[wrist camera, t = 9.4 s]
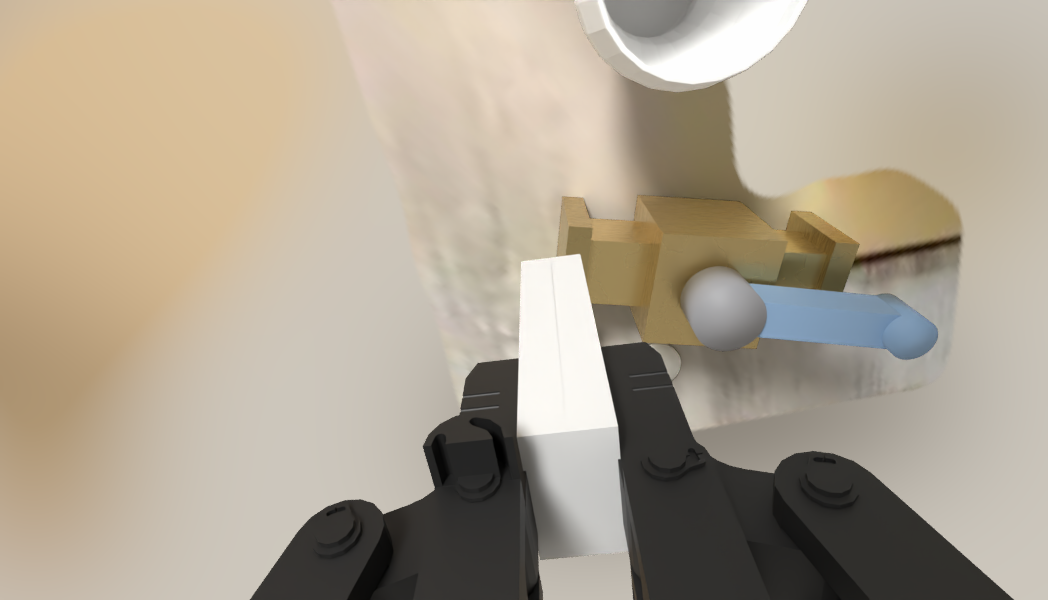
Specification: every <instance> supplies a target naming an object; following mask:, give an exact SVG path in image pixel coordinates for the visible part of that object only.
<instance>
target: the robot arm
mask: <svg viewBox="0 0 1048 600" xmlns="http://www.w3.org/2000/svg"><path fill="white" fill-rule="evenodd" d="M423 449H424V452H425V456H426V459H427V462H428V466H429V469H430V473H431V476H432V479H433V483H434V486H435V490H434V491H433V492H431V493H430V494H429V495H427V496H426V497H424V498H423V499H421V500H419V501H416V502H414V503H412V504H410V505H408V506H405V507H402V508H399V509H397V510H394V511H391V512H388V513H386V514H382V512H381V511H380V510H379V509H378V508H377V507H376V506H375V504H373V503H370V502H367V501H364V500H345V501H342V502H339V503H336V504H333V505H331V506H328V507H326V508H324V509H323V510H321V511H320V512H318V513H317V514H315V515H314V516H312V517H311V518H310V519H309V520H308V521H307V522H306V523H305V524H304V526H303V527H302V528H301V529H300V530H299V531H298V532H297V534H296V535H295V537H294V538H293V539H292V541H291V543H290V544H289V545H288V547H287V548H286V549H285V551H284V552H283V554H282V555H281V556H280V558H279V559H278V561H277V562H276V564H275V565H274V566H273V568H272V569H271V571H270V572H269V574H268V575H267V576H266V578H265V579H264V581H263V582H262V584H261V585H260V586H259V588H258V589H257V591H256V592H255V593H254V595H253V596H252V598H251V599H250V600H543V591H542V586H541V580H540V576H539V568H538V566H539V565H538V551H539V556H540V560H545V559H556V558H567V557H578V556H589V555H599V554H611V553H621V552H622V553H623V552H629V557H630V565H631V576H632V589H633V600H1014V599H1012V598H1011V597H1010V596H1009V595H1008V594H1007V593H1006V592H1005V591H1003V590H1002V589H1001V588H1000V587H999V586H998V585H996V583H994V582H993V581H992V580H991V579H990V578H989V577H987V575H985V574H984V573H983V572H982V571H981V570H980V569H979V568H978V567H976V566H975V565H974V564H973V563H972V562H971V561H970V560H968V559H967V558H966V557H965V556H964V555H963V554H962V553H961V552H960V551H958V550H957V549H956V548H955V547H954V546H953V545H952V544H951V543H949V542H948V541H947V540H946V539H945V538H944V537H943V536H942V535H940V534H939V533H938V532H937V531H936V530H935V529H934V528H932V527H931V526H930V525H929V524H928V523H927V522H926V521H925V520H923V519H922V518H921V517H920V516H919V515H918V514H917V513H916V512H915V511H913V510H912V509H911V508H910V507H909V506H908V505H907V504H905V503H904V502H903V501H902V500H901V499H900V498H899V497H898V496H897V495H895V494H894V493H893V492H892V491H891V490H890V489H889V488H887V487H886V486H885V485H884V484H883V483H882V482H881V481H880V480H878V479H877V478H876V477H875V476H874V475H873V474H872V473H870V472H869V471H868V470H866V469H865V468H863V467H861V466H860V465H859V464H857V463H855V462H854V461H852V460H848V459H846V458H843V457H841V456H838V455H835V454H831V453H822V452H815V451H811V452H804V453H796V454H794V455H792V456H790V457H788V458H786V459H784V460H782V461H781V463H780V464H779V466H778V467H777V469H776V470H775V473H767V472H760V471H753V470H746V469H742V468H737V467H733V466H729V465H727V464H724V463H722V462H719V461H717V460H716V459H714V458H712V457H711V456H710V455H709V453H708V452H707V450H706V449H705V448H704V447H703V446H701V445H700V444H698V443H697V442H696V441H695V439H694V437H693V435H692V433H691V430H690V427H689V425H688V422H687V420H686V417H685V415H684V412H683V410H682V407H681V404H680V402H679V399H678V397H677V394H676V392H675V389H674V387H673V385H672V381H671V379H670V376H669V374H668V373H667V369H666V366H665V364H664V361H663V358H662V356H661V354H660V353H659V352H657V351H656V350H655V349H654V348H652V347H651V346H650V345H649V344H647V343H646V342H640V343H632V344H623V345H615V346H606V347H600V342H599V337H598V333H597V328H596V324H595V319H594V315H593V310H592V305H591V301H590V296H589V292H588V287H587V283H586V278H585V273H584V269H583V264H582V260H581V255H580V254H575V255H568V256H560V257H552V258H544V259H536V260H529V261H521V294H520V332H519V358H517V359H509V360H500V361H492V362H483V363H478V364H477V365H476V366H475V367H474V369H473V370H472V371H471V372H470V374H469V375H468V376H467V378H466V380H465V386H464V392H463V398H462V403H461V412H460V415H459V416H455V417H453V418H451V419H449V420H447V421H445V422H443V423H441V424H440V425H439V426H437V427H436V428H435V429H434V430H433V431H432V432H431V433H430V434H429V435H428V437H427V439H426V441H425V443H424V445H423Z"/></svg>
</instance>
